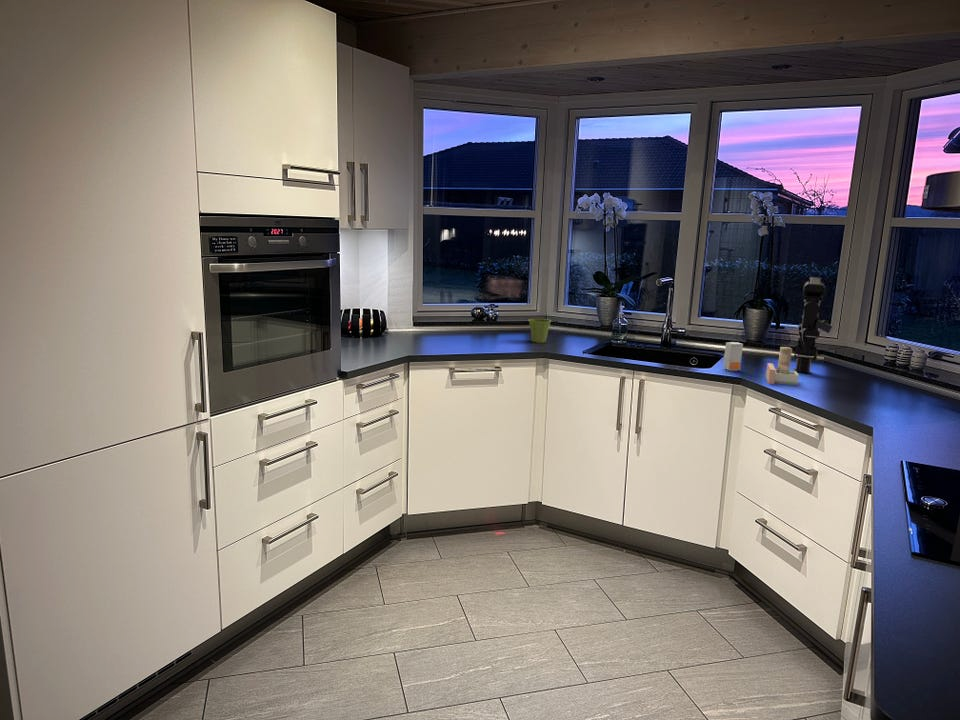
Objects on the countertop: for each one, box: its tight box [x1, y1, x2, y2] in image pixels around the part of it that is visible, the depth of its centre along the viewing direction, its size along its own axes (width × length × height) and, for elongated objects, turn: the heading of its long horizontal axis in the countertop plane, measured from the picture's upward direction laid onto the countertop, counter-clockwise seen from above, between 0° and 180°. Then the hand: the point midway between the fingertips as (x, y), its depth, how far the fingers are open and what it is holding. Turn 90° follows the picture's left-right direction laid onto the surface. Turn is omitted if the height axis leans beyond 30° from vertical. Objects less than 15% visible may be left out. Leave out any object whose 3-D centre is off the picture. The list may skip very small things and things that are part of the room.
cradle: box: [774, 368, 800, 386], centre depth 276 cm, size 9×9×4 cm
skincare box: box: [722, 341, 744, 371], centre depth 296 cm, size 6×4×12 cm
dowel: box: [777, 346, 793, 374], centre depth 275 cm, size 4×4×13 cm
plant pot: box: [527, 318, 552, 344], centre depth 346 cm, size 12×12×11 cm
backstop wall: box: [765, 362, 776, 385], centre depth 278 cm, size 14×2×6 cm, turn 161°
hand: (805, 350), depth 283 cm, fingers open, 9 cm apart
